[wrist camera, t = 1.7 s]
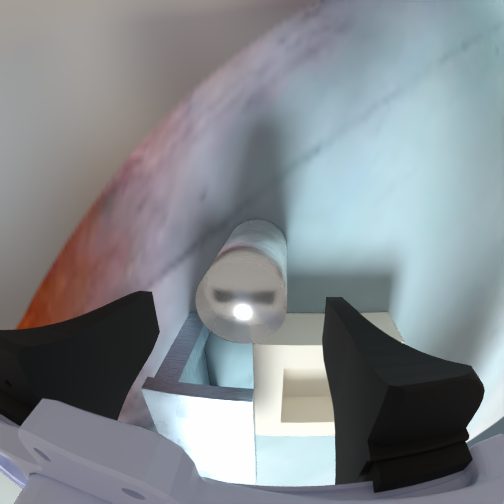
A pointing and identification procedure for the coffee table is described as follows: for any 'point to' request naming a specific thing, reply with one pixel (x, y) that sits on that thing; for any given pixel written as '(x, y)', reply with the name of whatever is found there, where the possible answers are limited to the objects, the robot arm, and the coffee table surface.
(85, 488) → the robot arm
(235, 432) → the grey arch block
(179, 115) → the coffee table surface
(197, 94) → the coffee table surface
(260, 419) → the socket block
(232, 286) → the peg
